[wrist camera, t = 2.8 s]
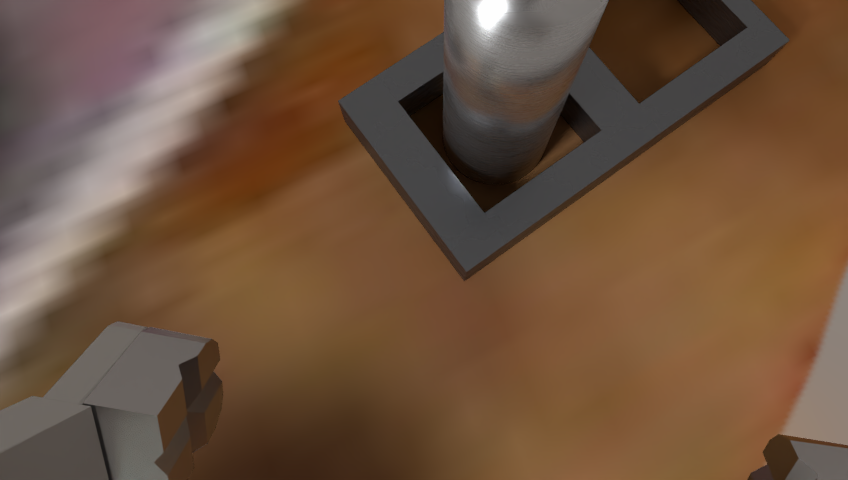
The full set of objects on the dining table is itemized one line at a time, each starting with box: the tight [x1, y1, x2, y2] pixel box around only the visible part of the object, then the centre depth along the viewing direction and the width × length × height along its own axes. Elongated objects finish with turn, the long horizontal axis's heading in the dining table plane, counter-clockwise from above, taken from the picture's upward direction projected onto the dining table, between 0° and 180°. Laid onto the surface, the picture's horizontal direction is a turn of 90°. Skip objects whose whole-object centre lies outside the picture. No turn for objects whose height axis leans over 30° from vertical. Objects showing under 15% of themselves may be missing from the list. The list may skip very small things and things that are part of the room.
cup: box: [443, 0, 609, 184], centre depth 22 cm, size 5×5×12 cm
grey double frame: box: [338, 0, 790, 281], centre depth 27 cm, size 9×17×2 cm, turn 126°
